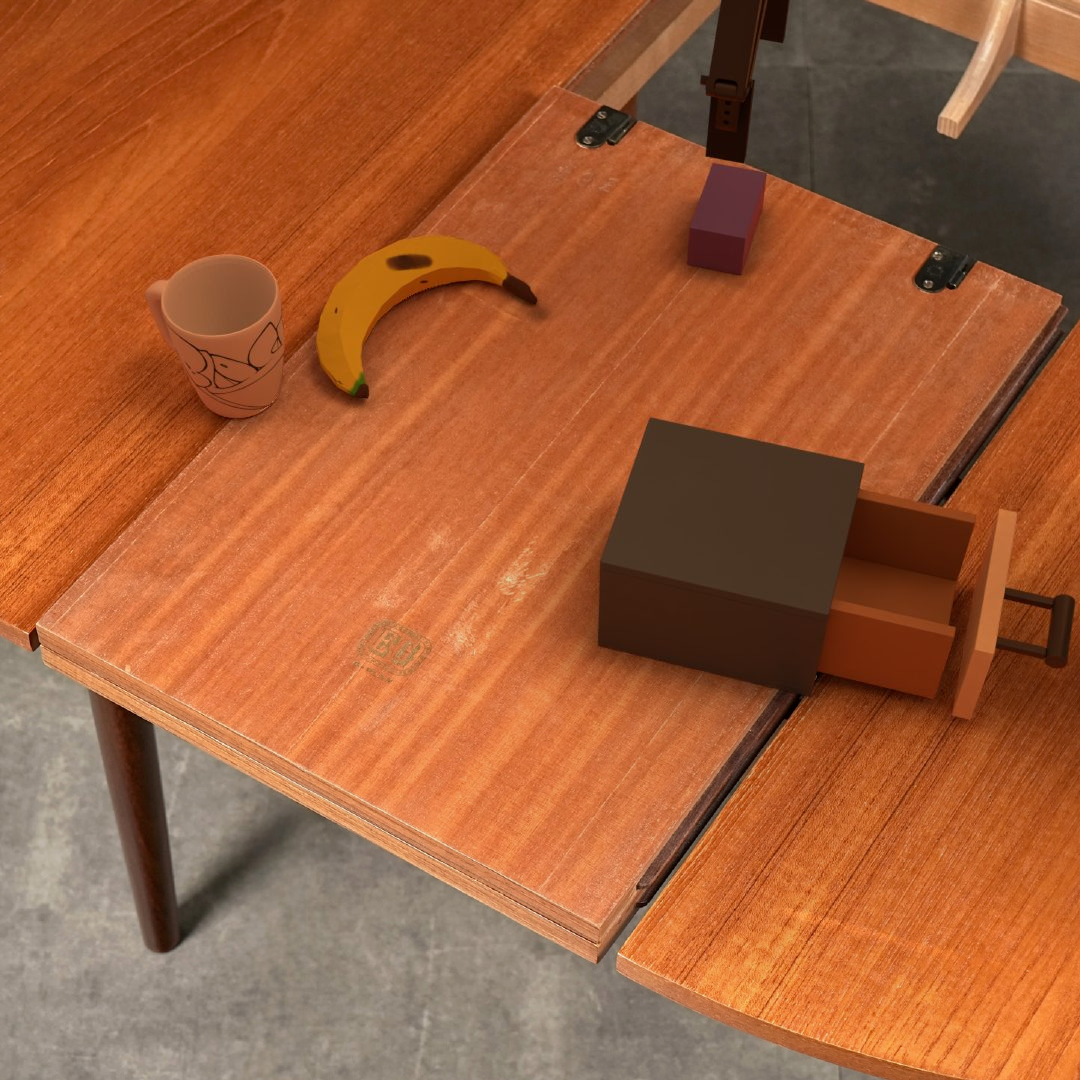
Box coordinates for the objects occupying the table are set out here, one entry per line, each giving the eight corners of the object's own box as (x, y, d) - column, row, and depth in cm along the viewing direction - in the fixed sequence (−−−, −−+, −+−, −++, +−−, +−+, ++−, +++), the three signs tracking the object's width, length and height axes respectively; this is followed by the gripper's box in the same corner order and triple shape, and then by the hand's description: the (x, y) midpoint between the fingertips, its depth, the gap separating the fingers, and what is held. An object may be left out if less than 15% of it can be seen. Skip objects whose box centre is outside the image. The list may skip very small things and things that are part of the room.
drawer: (1066, 598, 115) (1095, 528, 109) (1047, 738, 109) (1076, 673, 102) (799, 538, 119) (812, 467, 112) (765, 670, 112) (776, 603, 106)
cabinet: (846, 550, 119) (865, 462, 111) (811, 697, 112) (828, 615, 104) (644, 504, 122) (649, 416, 114) (597, 645, 115) (599, 561, 107)
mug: (131, 390, 129) (102, 295, 121) (199, 320, 133) (175, 225, 125) (253, 446, 126) (232, 353, 118) (318, 373, 130) (302, 278, 122)
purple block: (762, 209, 140) (767, 172, 137) (741, 275, 136) (745, 238, 132) (709, 199, 141) (712, 162, 138) (686, 264, 136) (689, 227, 133)
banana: (289, 355, 125) (480, 420, 124) (374, 192, 134) (553, 252, 133) (290, 391, 129) (475, 454, 128) (372, 230, 138) (546, 289, 137)
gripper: (759, -295, 111) (732, -17, 128) (670, -79, 97) (652, 200, 114) (873, -279, 110) (830, -1, 127) (799, -58, 96) (762, 221, 113)
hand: (746, 95), depth 121 cm, fingers open, 13 cm apart
